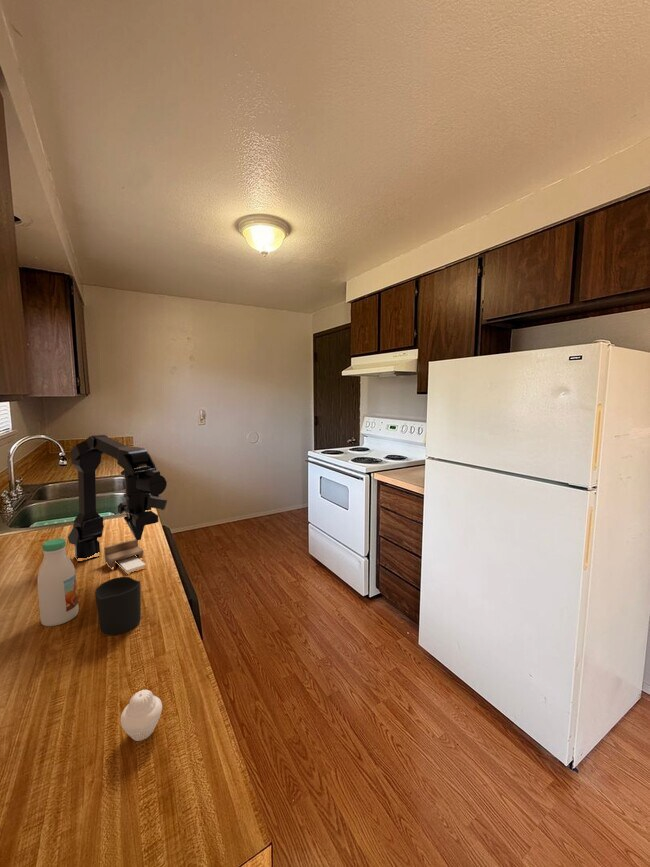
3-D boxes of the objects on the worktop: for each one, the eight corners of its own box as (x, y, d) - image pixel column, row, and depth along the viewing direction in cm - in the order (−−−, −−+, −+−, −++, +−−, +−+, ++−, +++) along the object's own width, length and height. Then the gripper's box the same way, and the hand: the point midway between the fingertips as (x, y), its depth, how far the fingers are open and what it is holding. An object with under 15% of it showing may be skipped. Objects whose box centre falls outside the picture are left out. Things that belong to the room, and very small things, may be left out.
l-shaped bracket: (110, 570, 115) (109, 552, 115) (105, 564, 119) (104, 547, 119) (143, 560, 122) (142, 543, 122) (137, 555, 126) (136, 538, 126)
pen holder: (144, 610, 94) (142, 573, 93) (140, 631, 85) (137, 591, 84) (102, 618, 90) (100, 580, 89) (94, 641, 82) (90, 600, 81)
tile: (127, 576, 112) (126, 570, 112) (115, 564, 120) (115, 559, 120) (145, 570, 116) (145, 564, 116) (133, 559, 124) (133, 553, 124)
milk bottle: (55, 630, 86) (48, 549, 84) (33, 623, 88) (25, 545, 86) (86, 612, 93) (80, 537, 91) (64, 606, 95) (58, 533, 93)
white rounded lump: (169, 715, 63) (167, 677, 62) (153, 749, 57) (151, 708, 56) (133, 716, 62) (130, 679, 62) (113, 750, 56) (110, 709, 56)
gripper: (175, 491, 108) (177, 541, 109) (153, 480, 121) (155, 525, 123) (135, 498, 100) (137, 552, 102) (116, 486, 113) (118, 533, 115)
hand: (138, 539), depth 110 cm, fingers closed
